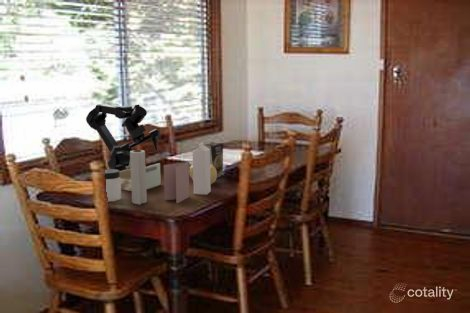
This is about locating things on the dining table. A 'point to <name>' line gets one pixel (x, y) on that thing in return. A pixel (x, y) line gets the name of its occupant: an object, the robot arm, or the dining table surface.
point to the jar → (113, 184)
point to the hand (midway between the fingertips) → (148, 157)
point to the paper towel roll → (138, 176)
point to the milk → (201, 170)
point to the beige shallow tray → (125, 179)
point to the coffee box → (216, 156)
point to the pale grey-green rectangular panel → (153, 176)
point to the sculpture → (212, 173)
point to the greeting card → (176, 181)
